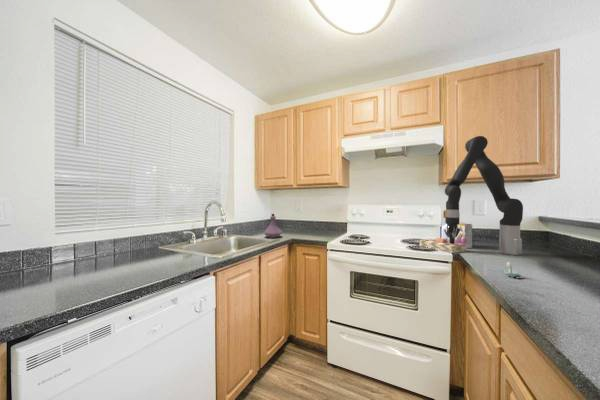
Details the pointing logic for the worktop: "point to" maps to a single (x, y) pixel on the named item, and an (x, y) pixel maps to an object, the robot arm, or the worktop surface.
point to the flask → (272, 229)
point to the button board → (443, 246)
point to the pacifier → (511, 271)
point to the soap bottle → (443, 234)
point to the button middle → (441, 240)
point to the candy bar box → (464, 234)
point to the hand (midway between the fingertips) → (452, 243)
